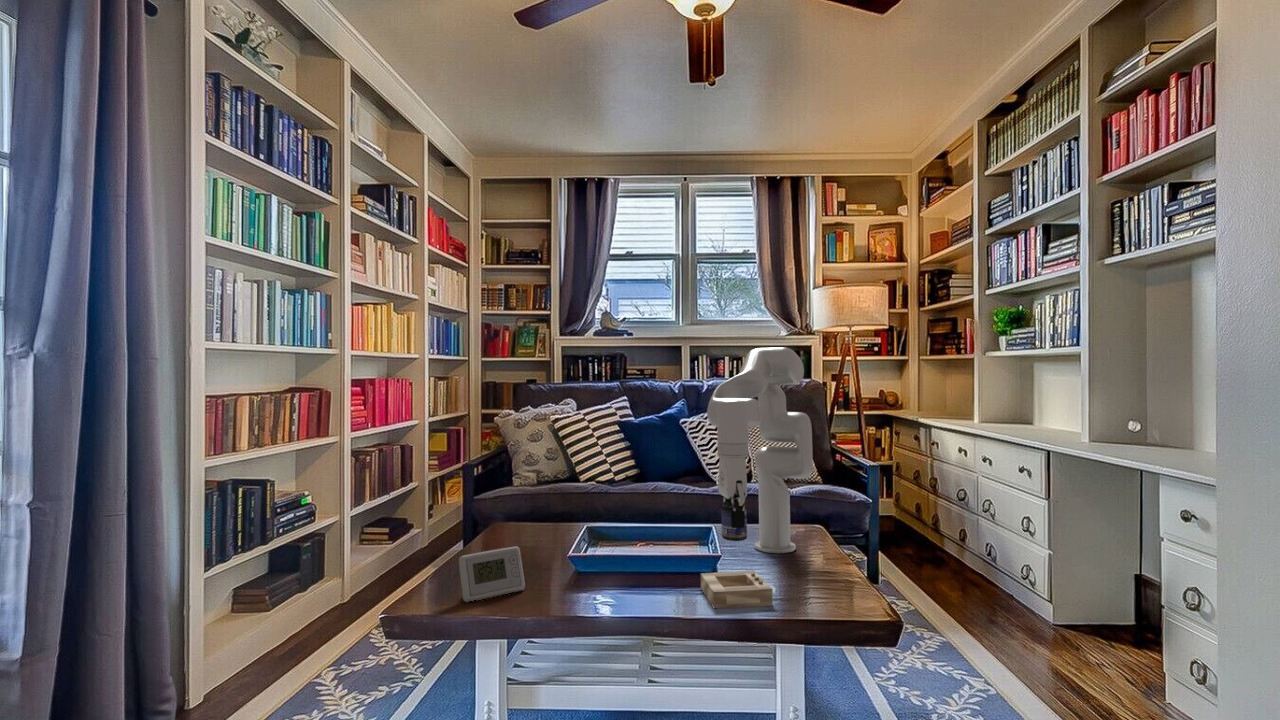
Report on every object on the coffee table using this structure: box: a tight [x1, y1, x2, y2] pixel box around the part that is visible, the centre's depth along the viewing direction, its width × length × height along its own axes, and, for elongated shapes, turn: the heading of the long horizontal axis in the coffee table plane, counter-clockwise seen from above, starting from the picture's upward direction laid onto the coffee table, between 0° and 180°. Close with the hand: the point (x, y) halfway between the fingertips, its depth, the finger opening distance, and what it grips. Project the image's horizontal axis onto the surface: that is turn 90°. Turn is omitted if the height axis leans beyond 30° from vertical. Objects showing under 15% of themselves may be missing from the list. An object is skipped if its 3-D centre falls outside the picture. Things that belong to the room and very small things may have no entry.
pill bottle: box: [720, 495, 748, 542], centre depth 152 cm, size 6×6×11 cm
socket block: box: [700, 570, 774, 609], centre depth 151 cm, size 14×14×4 cm
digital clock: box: [458, 545, 526, 603], centre depth 155 cm, size 16×9×11 cm, turn 114°
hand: (734, 523), depth 152 cm, fingers closed on pill bottle, 6 cm apart
